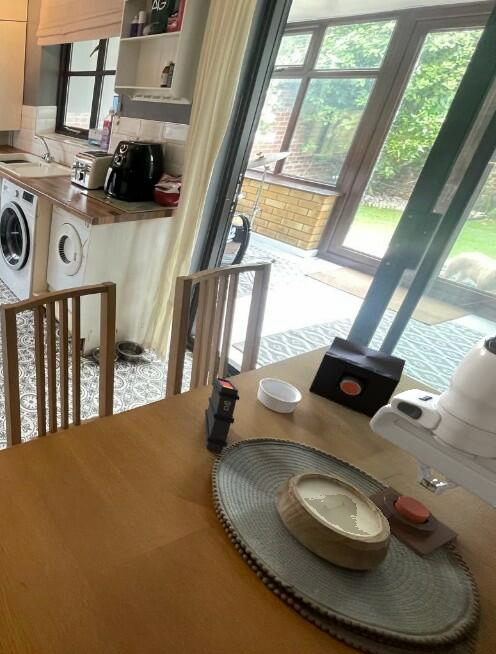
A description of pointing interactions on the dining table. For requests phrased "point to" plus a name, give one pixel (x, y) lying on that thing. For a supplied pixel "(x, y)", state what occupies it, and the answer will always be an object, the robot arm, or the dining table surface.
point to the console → (358, 376)
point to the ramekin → (278, 395)
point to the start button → (412, 509)
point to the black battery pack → (220, 414)
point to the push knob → (351, 385)
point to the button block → (412, 525)
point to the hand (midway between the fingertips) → (428, 487)
